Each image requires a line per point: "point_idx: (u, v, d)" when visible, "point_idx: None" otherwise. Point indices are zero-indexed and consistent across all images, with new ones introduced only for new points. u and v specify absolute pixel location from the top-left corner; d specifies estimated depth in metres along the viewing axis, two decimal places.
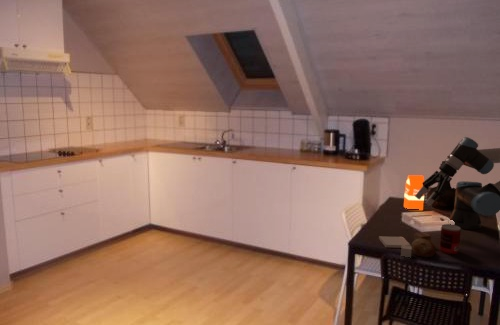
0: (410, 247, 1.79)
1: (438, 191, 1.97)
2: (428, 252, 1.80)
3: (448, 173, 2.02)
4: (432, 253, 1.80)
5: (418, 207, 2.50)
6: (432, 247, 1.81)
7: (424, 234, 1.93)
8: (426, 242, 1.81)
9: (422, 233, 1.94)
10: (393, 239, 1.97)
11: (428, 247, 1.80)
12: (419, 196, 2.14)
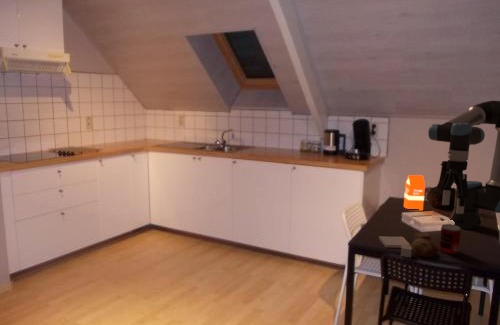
0: (410, 247, 1.79)
1: (461, 196, 1.73)
2: (428, 252, 1.80)
3: (460, 170, 1.77)
4: (433, 253, 1.80)
5: (418, 207, 2.50)
6: (432, 247, 1.81)
7: (424, 234, 1.93)
8: (426, 242, 1.81)
9: (422, 233, 1.94)
10: (393, 239, 1.97)
11: (428, 247, 1.80)
12: (447, 202, 1.90)
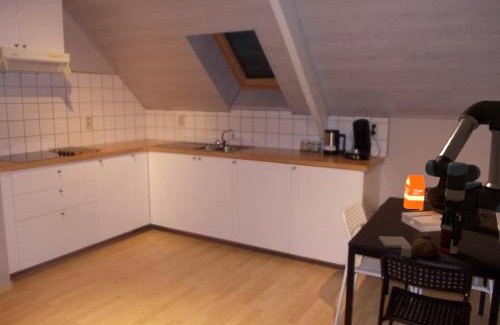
0: (410, 247, 1.79)
1: (455, 238, 1.78)
2: (429, 252, 1.80)
3: (456, 209, 1.80)
4: (433, 252, 1.80)
5: (418, 207, 2.50)
6: (433, 247, 1.81)
7: (424, 234, 1.93)
8: (427, 242, 1.81)
9: (422, 233, 1.94)
10: (393, 239, 1.97)
11: (429, 247, 1.80)
12: None
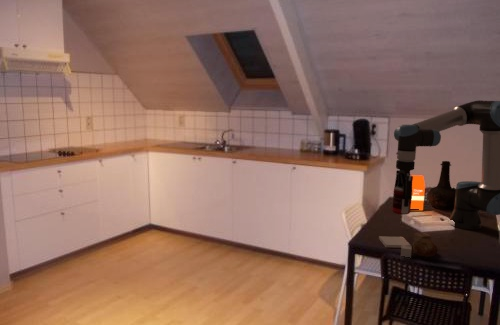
0: (410, 247, 1.79)
1: (405, 197, 1.83)
2: (429, 252, 1.80)
3: (407, 170, 1.84)
4: (433, 252, 1.81)
5: (418, 207, 2.50)
6: (433, 247, 1.81)
7: (424, 234, 1.93)
8: (427, 242, 1.81)
9: (422, 233, 1.94)
10: (393, 239, 1.97)
11: (429, 247, 1.80)
12: None
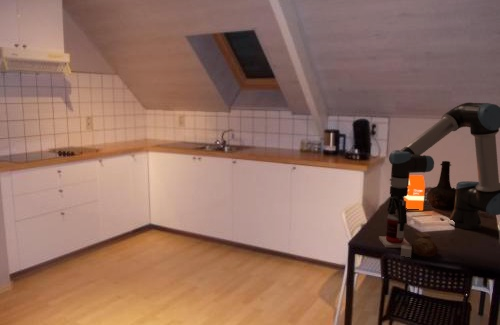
0: (410, 247, 1.79)
1: (400, 222, 1.83)
2: (430, 252, 1.80)
3: (400, 196, 1.87)
4: (434, 252, 1.81)
5: (418, 207, 2.50)
6: (434, 247, 1.81)
7: (424, 234, 1.93)
8: (428, 242, 1.82)
9: (422, 233, 1.94)
10: None
11: (430, 247, 1.80)
12: None
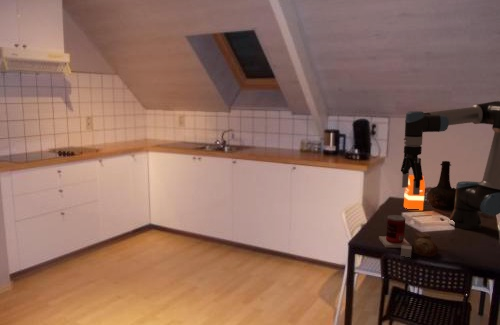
0: (410, 247, 1.79)
1: (416, 179, 1.88)
2: (430, 252, 1.80)
3: (414, 154, 1.92)
4: (434, 252, 1.81)
5: (418, 207, 2.50)
6: (434, 247, 1.81)
7: (424, 234, 1.93)
8: (428, 242, 1.82)
9: (422, 233, 1.94)
10: None
11: (430, 247, 1.80)
12: (406, 184, 2.05)
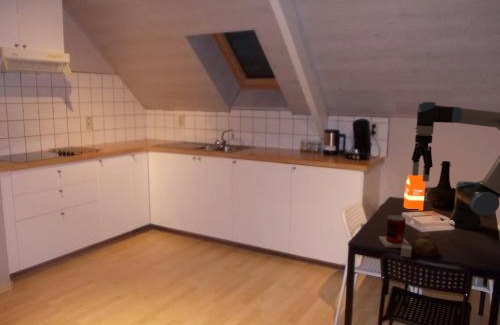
0: (410, 247, 1.79)
1: (426, 166, 1.97)
2: (430, 252, 1.80)
3: (425, 143, 2.01)
4: (435, 252, 1.81)
5: (418, 207, 2.50)
6: (434, 247, 1.81)
7: (424, 234, 1.93)
8: (428, 242, 1.82)
9: (422, 233, 1.94)
10: None
11: (430, 247, 1.80)
12: (416, 173, 2.14)
